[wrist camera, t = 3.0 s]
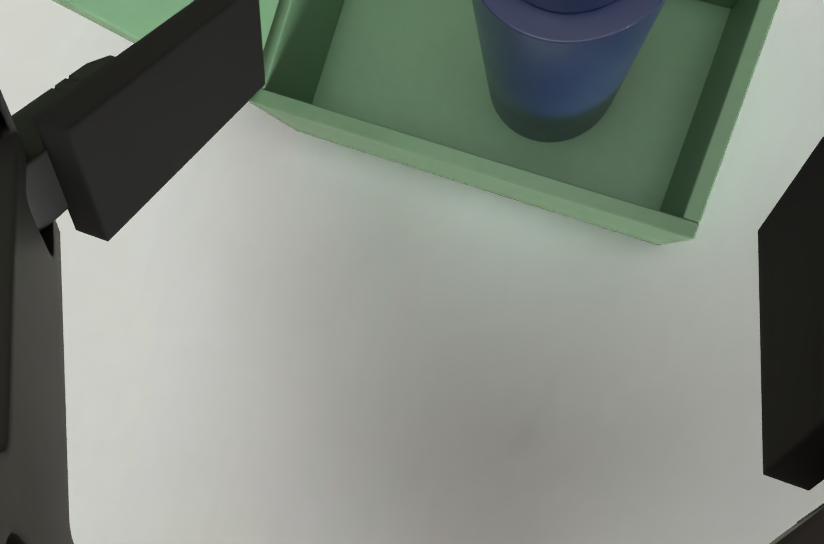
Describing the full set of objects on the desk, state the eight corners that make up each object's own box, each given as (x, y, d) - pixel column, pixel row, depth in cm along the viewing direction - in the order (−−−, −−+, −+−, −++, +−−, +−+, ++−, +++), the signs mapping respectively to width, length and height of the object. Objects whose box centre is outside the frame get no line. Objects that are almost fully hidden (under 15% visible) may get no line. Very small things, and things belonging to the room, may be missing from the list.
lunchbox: (745, 4, 27) (802, -63, 22) (660, 245, 28) (693, 239, 22) (365, -91, 30) (330, -173, 24) (295, 130, 30) (245, 100, 25)
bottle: (634, 35, 27) (788, -284, 12) (592, 158, 28) (684, 11, 12) (512, 2, 28) (497, -336, 12) (472, 122, 28) (408, -60, 13)
